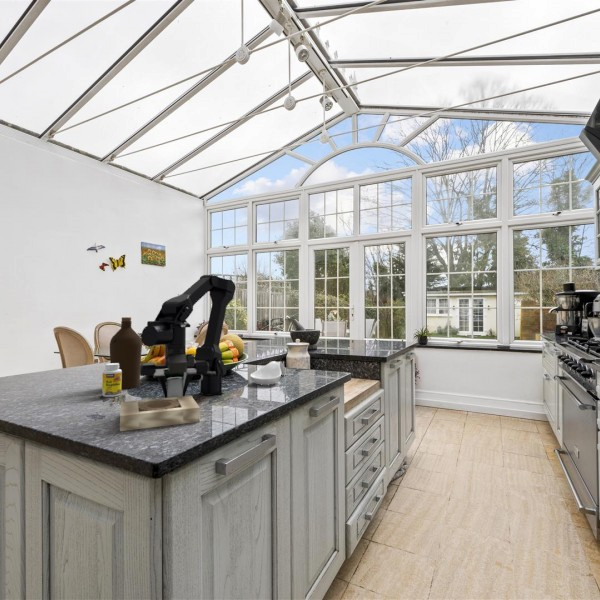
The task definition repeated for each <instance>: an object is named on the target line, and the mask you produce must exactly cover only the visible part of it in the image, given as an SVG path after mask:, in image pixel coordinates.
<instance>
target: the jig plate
mask: <svg viewBox="0 0 600 600" xmlns="http://www.w3.org/2000/svg"><path fill="white" fill-rule="evenodd" d="M200 410H201V409H200V405H198V403H197V402H196V400H195V399H194V398H193V396H192V395H185V396H181V397H170V398H165V397H163V398H162V397H161V398H152V399H151V398H150V399H141V400H128V401H120V412H119V413H120V415H119V416H120V417H119V431H120V432H126V431H133V430H134V431H135V430H139V429H140V430H141V429H142V430H143V429H151V428H156V427H157V428H158V427H165V426H174V425H181V424H191V423H199V422H200V421H201V420H200V417H201V416H200V415H201V414H200V413H201V411H200Z"/></svg>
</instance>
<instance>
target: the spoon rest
mask: <svg viewBox="0 0 600 600" xmlns="http://www.w3.org/2000/svg"><path fill="white" fill-rule="evenodd" d="M281 374H286V375H287V372H286V367H285V365H284V364H283V361H275V360H273V361H270V362H269V363H267V364H266V365H264V366H262V367H261V368H259V369H257V370H255V371H254V372H251V374H250V375H249V378H250V380H252V382H253V383H255V384H257V385H258V384H262V385H261V386H269V385H268V384H273V385H275V384H276V383H277V382H279V381H280V378H281V377H282V376H281ZM274 383H275V384H274Z"/></svg>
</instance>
